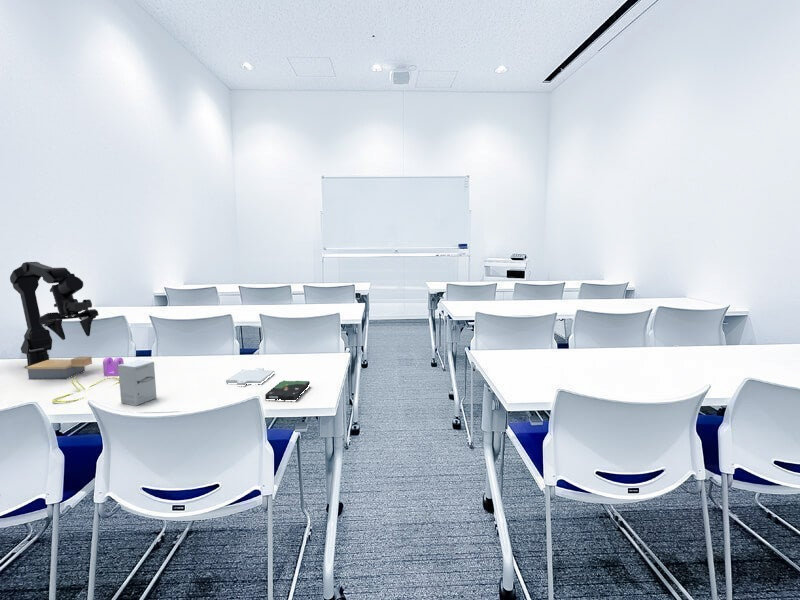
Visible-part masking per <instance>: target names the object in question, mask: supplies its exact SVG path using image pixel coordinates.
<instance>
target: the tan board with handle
mask: <svg viewBox="0 0 800 600" xmlns="http://www.w3.org/2000/svg"><path fill="white" fill-rule="evenodd" d="M92 361H93V358H92V356H77V357H76V356H75V358H70V359H49V360H46V361H43V362H40V363H37V364H34V365H31V366H28V365H27V366H28V367H26V368H25V369H26V370H28V369H67V368H69V367H80V366H85V367H87V366H90V365H92V364H93V362H92Z"/></svg>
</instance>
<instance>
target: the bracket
mask: <svg viewBox="0 0 800 600" xmlns="http://www.w3.org/2000/svg"><path fill="white" fill-rule="evenodd" d="M121 364H125V361H124V358H122V357H115V358H114V359H113V357H104V359H103V361H102V369H103V377H119V370H118V365H121Z"/></svg>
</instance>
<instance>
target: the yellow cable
mask: <svg viewBox="0 0 800 600" xmlns="http://www.w3.org/2000/svg"><path fill="white" fill-rule="evenodd" d="M108 379H109V380H111V379H114V380H118V381H117V382H116V383H114V384H113V386H115V384H116V385H117V383H118V384H120V382H119V377H116V376H111V377H107V378H103V379H101V380H99V381H97V382H95V383H93V384H91V385H90V386H91V387H93V386H94V384H95V385H97V384H99V383H100V382H103V381H106V380H108ZM74 380H75V381H76V383H77V384H78V385H79V386H80V387H81V388H82V389H83V390H85V389H86V388H85V387H84V386H83V385H82V384H81V383H80V382H79V381H78V379H77V378H76V377H75V376H73V377H71V380H70V381H71V383H72V385H73V386H74V387H75V388H76V390H77V391H79V392H80V391H81V389H80V388H78V386H77V385H76V384H75V382H74ZM92 385H93V386H92ZM73 393H74V392H73ZM73 393H68V394H65V395H62V396H57V397H55V398H53V399H52V402H53V403H71V402H77V401H79V399H80V400H82V399H85V398H84V397H85V396H83V397H81V398H82V399H81V398H77V399H73V400H58V399H61V398H65V397H67V396H71V395H74V394H73ZM70 394H71V395H70ZM76 400H77V401H76Z"/></svg>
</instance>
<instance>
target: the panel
mask: <svg viewBox="0 0 800 600" xmlns="http://www.w3.org/2000/svg"><path fill="white" fill-rule="evenodd" d="M85 367H86V366H80V367H69V368H67V369H27V376H28V380H67V378H68V379H70V378H72V377H75V376H77V375H79V374H78V373H80V374H82V373H84V372H83V371H85V372H86V368H85ZM81 372H82V373H81ZM76 374H77V375H76ZM74 375H75V376H74ZM71 376H72V377H71ZM69 377H70V378H69Z"/></svg>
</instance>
